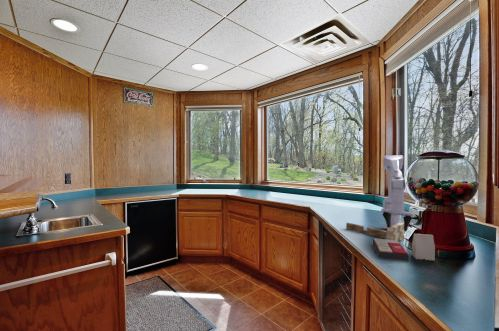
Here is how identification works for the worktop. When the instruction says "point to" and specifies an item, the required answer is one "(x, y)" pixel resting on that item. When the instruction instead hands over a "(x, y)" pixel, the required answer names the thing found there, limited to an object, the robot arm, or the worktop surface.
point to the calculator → (390, 249)
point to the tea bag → (423, 247)
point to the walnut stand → (369, 230)
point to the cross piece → (396, 232)
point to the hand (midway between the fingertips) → (397, 228)
